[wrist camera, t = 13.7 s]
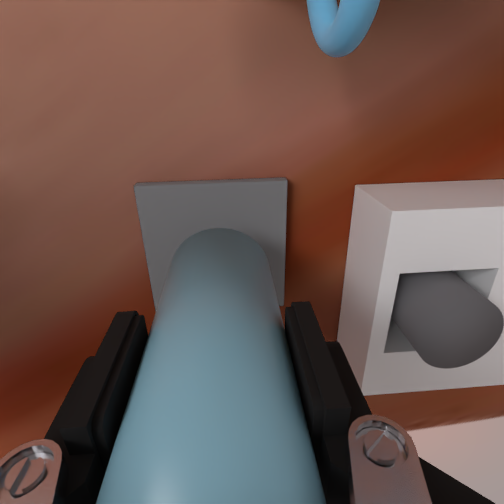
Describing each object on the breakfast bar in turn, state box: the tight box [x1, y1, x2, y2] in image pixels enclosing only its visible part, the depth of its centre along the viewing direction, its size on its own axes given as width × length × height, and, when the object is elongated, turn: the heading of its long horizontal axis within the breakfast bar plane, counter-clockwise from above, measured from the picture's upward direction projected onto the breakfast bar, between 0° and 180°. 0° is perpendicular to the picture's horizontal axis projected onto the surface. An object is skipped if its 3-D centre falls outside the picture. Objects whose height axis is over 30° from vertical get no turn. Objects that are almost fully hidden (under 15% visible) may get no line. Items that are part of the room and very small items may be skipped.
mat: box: [134, 177, 287, 311], centre depth 17 cm, size 7×7×1 cm
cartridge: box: [96, 228, 326, 504], centre depth 9 cm, size 4×4×13 cm
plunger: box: [391, 271, 504, 369], centre depth 16 cm, size 4×4×5 cm
